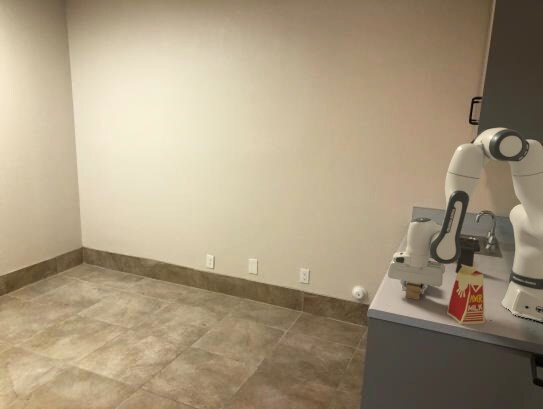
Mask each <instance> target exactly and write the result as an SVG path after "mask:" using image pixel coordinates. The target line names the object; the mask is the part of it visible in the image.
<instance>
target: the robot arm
mask: <svg viewBox="0 0 543 409" xmlns="http://www.w3.org/2000/svg"><path fill="white" fill-rule="evenodd" d="M491 160H494V161H499V162H508V164H509V167H510V173H511V178H512V183H513V189H514V194H515V196H516V198H517V199H518V201H519V202H520V204H517V205H515V206H514V207H513V208H512V209H511V211H510V212H509V221H510V223H511V224H512V228H513V235H514V236H513V237H514V242H515V243H514V246H515V247H514V248H515V252H514V257H513V266H512V268H511V270H510V272H509V278H508V287H507V291H506V293H505V295H504V298H503V299H502V301H501V305H502V306H503V308H505V309H506V308H507V309H506V310H508V309H509V310H510V311H511V312H512V313H511V312H510V311H509V310H508V311H509V312H510V313H511V314H512V315H513V314H514V315H513V316H515V315H516V316H515V317H518V316H521V317H525V318H532V319H537V320H542V319H541V318H543V146H542V143H541V142H539V141H538V140H535V139H525V137H524V136H523V135H522V134H521V133H520V132H518V131H517V130H515V129H511V128H506V127H489V128H485V129H482V130H481V131H480V132H478V134H477V135H476V136H475V138H474V139H472V141H471V142H470V143H469V142H468V143H462V144H460V145H459V146H457V148H456V149H455V151H454V153H453V155H452V157H451V159H450V163H449V165H448V168H447V172H446V176H445V182H444V195H445V201H446V205H445V206H446V207H445V213H444V217H443V221H442V224H441V225H440V224H439V223H438V224H439V225H438V224H436V221H433V220H432V218H429V217H417V218H414V219H413V220H411V222H410V223H409V225H408V230H407V236H406V242H407V245H406V247H405V251H397V252H395V253H393V255H392V260H391V262H390V264H389V266H388V271H387V277H388V278H389V279H394V280H399V281H400V282H399V283H400V284H401V287H403V288H402V289H401V290H402V291H403V292H405V291H406V287H407V286H405V285H404V281H409V282H415V283H421V285H423V284H424V287H423V288H422V287H420V294H419V295H424V293H425V292H424V290H425V291H426V290H427V288H428V286H431V287H432V286H433V287H439V288H440V287H441V286H443V276H444V274H445V272H446V266H445V265H451V264H453V263H455V262H458V259H459V257H460V255H461V242H460V237H461V232H462V228H463V225H464V222H465V218H466V214H467V211H468V208H469V207H470V204H471V201H472V199H473V197H474V196H475V193H476V192H477V189H478V186H479V184H480V182H481V178H482V175H483V170H484V168H485V166H486V165H487V164H488V163H489V162H490V161H491ZM430 254H431V256H432V257H430ZM430 258H432V259H433V260H434V261H433V260H430ZM521 317H520V318H521ZM525 318H524V319H525Z"/></svg>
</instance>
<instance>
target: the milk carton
mask: <svg viewBox="0 0 543 409" xmlns="http://www.w3.org/2000/svg"><path fill="white" fill-rule="evenodd" d="M461 265H462V264H461ZM478 269H479V267H478V266H473V267H469V266H466V265H462V268H461V269H460V270H459V272H458V273H457V272H456V276H455V280H454V283H453V287H452V290H451V295H450V298H449V302H448V308H447V313H446V314H447V315H448V316H450V317H452V318H453V320H455V321H456V322H457V323H458V324H460V325H473V324H476V325H477V324H485V319H486V318H485V292H484V291H485V290H484V289H485V288H484V274H483V273H482V272H480V271H478Z"/></svg>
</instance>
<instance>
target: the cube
mask: <svg viewBox="0 0 543 409" xmlns="http://www.w3.org/2000/svg"><path fill="white" fill-rule="evenodd" d="M421 285H422V284H421V283H415V282H409V281H407V287H406V292H405V298H408V299H413V300H420V295H421V294H420V288H421Z"/></svg>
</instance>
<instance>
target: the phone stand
mask: <svg viewBox="0 0 543 409" xmlns="http://www.w3.org/2000/svg"><path fill="white" fill-rule="evenodd" d="M460 246H461V255H460V257H459V259H458V260H457V261H456V268H455V273H456V274H457V273H458V272H459V270H460V269H461V268H462V265H466V266H469V267H474V259H475V258H474V257H475V250H476V247H473V246H469V245H467V246H466V245H462V244H460ZM461 264H462V265H461Z"/></svg>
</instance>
